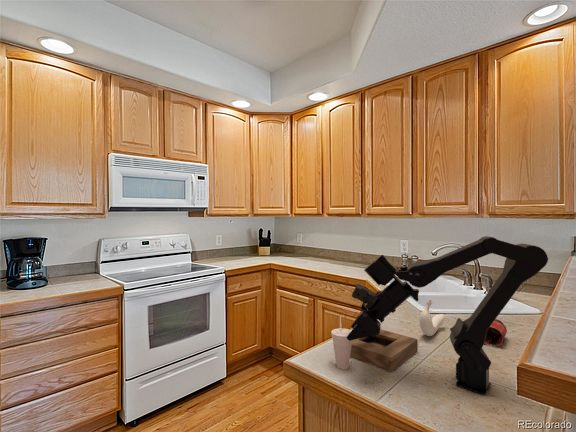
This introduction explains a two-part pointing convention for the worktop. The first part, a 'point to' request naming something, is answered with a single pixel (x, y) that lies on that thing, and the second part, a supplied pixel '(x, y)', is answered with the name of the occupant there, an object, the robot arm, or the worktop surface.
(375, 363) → the walnut box
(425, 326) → the white curved piece
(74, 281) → the worktop surface
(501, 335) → the beverage can
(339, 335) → the smoothie
